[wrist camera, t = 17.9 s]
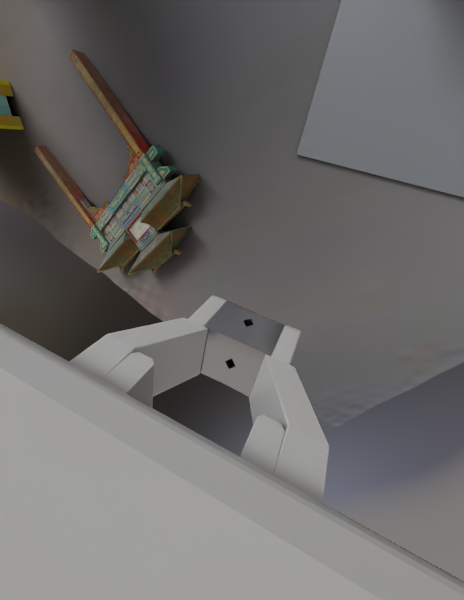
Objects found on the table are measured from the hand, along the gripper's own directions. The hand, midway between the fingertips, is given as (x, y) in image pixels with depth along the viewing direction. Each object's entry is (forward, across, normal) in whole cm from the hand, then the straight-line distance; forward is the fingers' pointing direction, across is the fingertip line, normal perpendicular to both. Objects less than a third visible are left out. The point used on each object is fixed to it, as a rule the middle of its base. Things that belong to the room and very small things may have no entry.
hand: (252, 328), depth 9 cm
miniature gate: (+32, +33, +8) cm, 47 cm away
